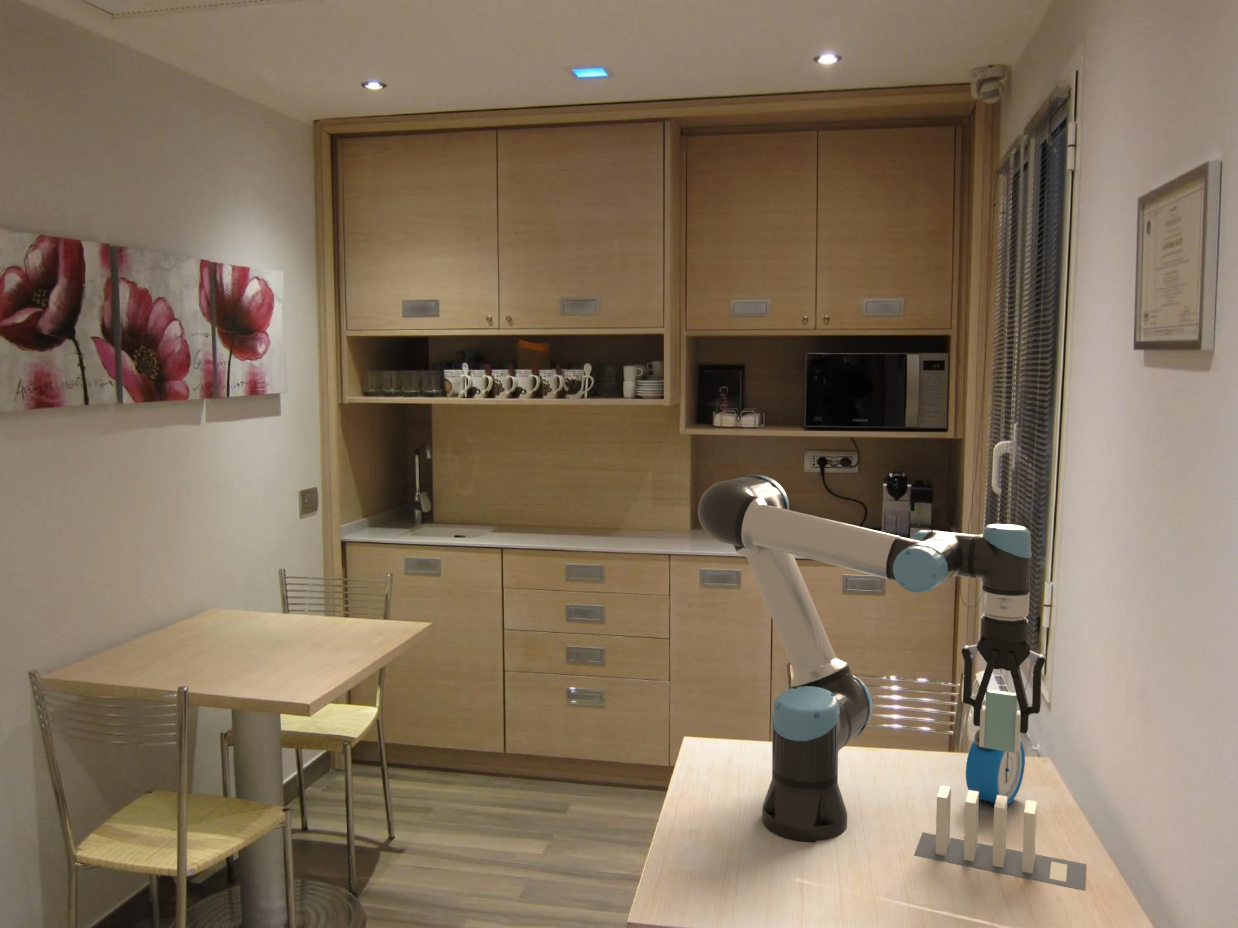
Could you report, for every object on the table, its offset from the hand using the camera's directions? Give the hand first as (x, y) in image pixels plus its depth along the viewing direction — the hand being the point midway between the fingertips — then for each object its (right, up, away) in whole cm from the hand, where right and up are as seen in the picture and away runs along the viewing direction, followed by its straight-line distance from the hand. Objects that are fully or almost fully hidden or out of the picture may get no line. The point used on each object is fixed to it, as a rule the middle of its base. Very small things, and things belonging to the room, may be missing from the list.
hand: (999, 746), depth 169 cm
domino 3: (0, 0, 0) cm, 0 cm away
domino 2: (-7, -17, -5) cm, 19 cm away
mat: (-3, -17, -7) cm, 19 cm away
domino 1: (-11, -16, -3) cm, 20 cm away
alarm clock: (+5, -15, +16) cm, 22 cm away
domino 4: (-3, -17, -7) cm, 18 cm away
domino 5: (+1, -17, -9) cm, 19 cm away
